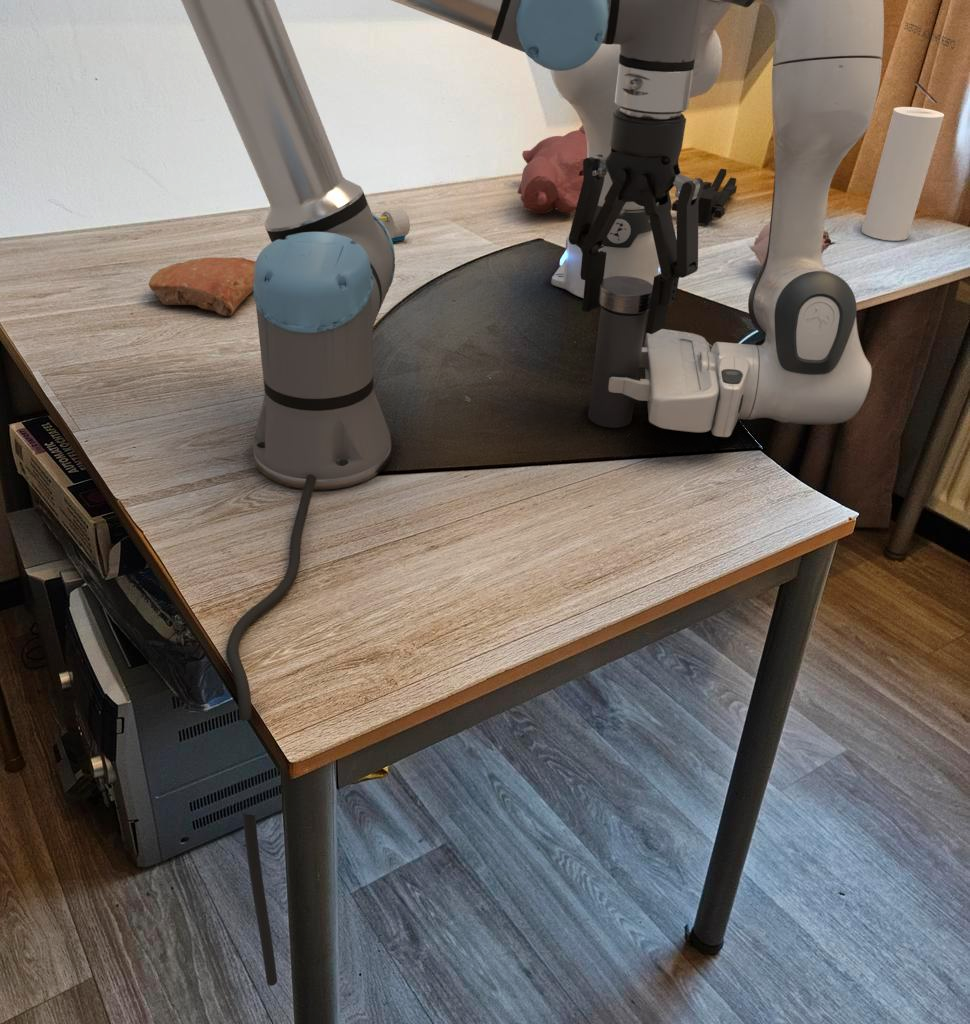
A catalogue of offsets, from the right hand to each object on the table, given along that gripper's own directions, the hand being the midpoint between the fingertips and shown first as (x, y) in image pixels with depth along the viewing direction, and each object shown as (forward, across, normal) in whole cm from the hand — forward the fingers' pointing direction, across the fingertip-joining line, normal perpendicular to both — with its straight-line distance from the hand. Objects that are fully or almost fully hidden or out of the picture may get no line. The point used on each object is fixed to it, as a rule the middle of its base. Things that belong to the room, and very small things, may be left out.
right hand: (608, 370), depth 115 cm
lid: (-1, 0, -10) cm, 10 cm away
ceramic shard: (+60, -28, +6) cm, 66 cm away
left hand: (-1, 0, -7) cm, 7 cm away
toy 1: (-22, -95, +6) cm, 98 cm away
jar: (-1, 0, +6) cm, 6 cm away
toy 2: (-31, -58, +6) cm, 66 cm away
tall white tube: (-53, -85, +6) cm, 100 cm away
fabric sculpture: (+6, -88, +6) cm, 89 cm away
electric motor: (+37, -58, +6) cm, 70 cm away
